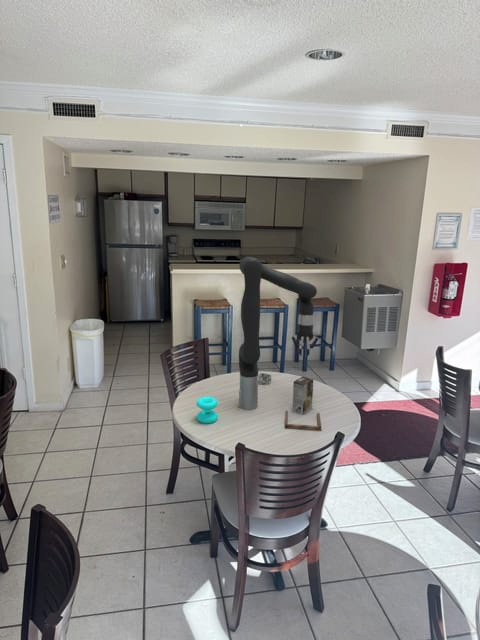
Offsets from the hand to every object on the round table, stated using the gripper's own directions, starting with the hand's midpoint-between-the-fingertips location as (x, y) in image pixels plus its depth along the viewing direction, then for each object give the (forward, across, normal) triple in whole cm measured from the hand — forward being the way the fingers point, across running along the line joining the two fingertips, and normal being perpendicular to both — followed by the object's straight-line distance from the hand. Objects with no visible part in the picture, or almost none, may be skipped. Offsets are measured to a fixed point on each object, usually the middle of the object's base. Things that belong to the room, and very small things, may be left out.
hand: (304, 355), depth 222 cm
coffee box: (+25, 0, -11) cm, 28 cm away
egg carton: (+26, -21, +23) cm, 40 cm away
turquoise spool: (+25, -45, -27) cm, 58 cm away
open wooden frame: (+25, 0, -23) cm, 34 cm away
